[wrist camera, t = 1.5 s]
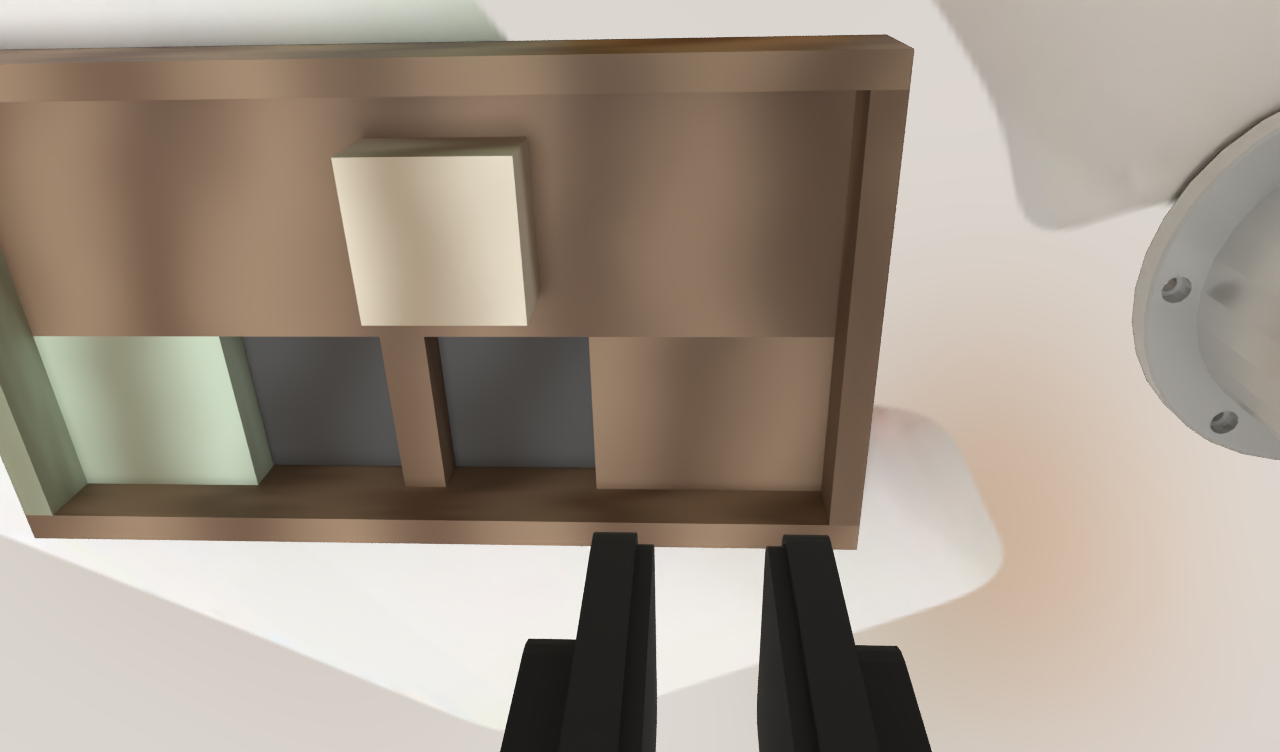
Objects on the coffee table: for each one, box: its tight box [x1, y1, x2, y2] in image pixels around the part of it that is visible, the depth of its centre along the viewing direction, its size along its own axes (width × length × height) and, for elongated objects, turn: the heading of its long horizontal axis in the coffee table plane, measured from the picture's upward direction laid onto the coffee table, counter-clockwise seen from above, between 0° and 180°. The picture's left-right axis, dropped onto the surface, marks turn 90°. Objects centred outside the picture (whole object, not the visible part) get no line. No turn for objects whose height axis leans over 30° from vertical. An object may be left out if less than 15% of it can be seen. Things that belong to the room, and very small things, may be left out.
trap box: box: [0, 35, 914, 550], centre depth 28 cm, size 29×16×4 cm, turn 91°
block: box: [331, 137, 540, 326], centre depth 26 cm, size 5×5×2 cm
